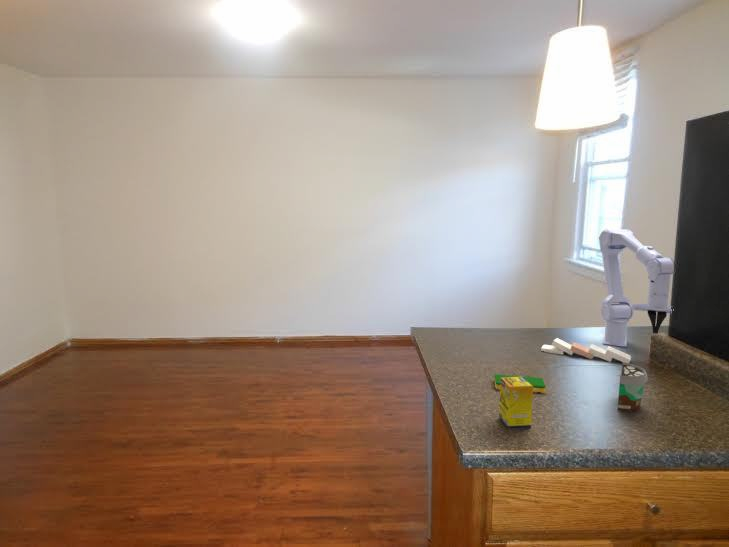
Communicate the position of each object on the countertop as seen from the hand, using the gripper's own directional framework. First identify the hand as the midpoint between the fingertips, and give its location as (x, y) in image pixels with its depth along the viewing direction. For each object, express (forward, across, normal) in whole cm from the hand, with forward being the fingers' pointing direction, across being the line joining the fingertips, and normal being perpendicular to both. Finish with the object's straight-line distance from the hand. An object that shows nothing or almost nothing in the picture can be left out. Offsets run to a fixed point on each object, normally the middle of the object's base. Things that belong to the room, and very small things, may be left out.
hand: (655, 332), depth 153 cm
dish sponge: (+11, -35, -45) cm, 58 cm away
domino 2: (+9, -24, -6) cm, 26 cm away
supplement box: (+10, -31, -69) cm, 76 cm away
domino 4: (+9, -12, -6) cm, 16 cm away
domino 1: (+10, -28, -6) cm, 30 cm away
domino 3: (+9, -18, -6) cm, 21 cm away
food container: (+10, -6, -44) cm, 46 cm away
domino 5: (+9, -7, -6) cm, 13 cm away
